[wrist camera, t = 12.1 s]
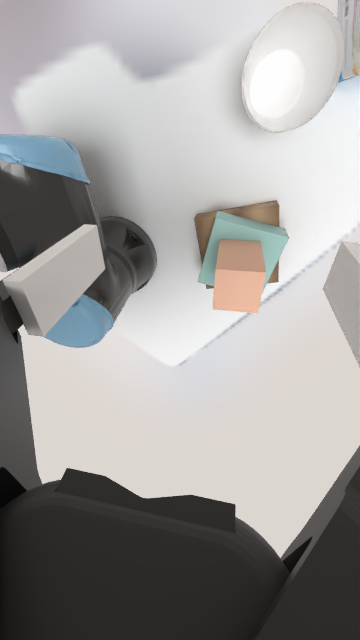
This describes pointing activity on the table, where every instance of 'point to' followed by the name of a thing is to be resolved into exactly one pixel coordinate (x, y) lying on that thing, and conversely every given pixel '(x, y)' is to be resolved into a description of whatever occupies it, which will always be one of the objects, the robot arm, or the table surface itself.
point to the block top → (242, 230)
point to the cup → (292, 67)
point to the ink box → (350, 37)
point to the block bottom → (254, 212)
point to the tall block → (239, 276)
